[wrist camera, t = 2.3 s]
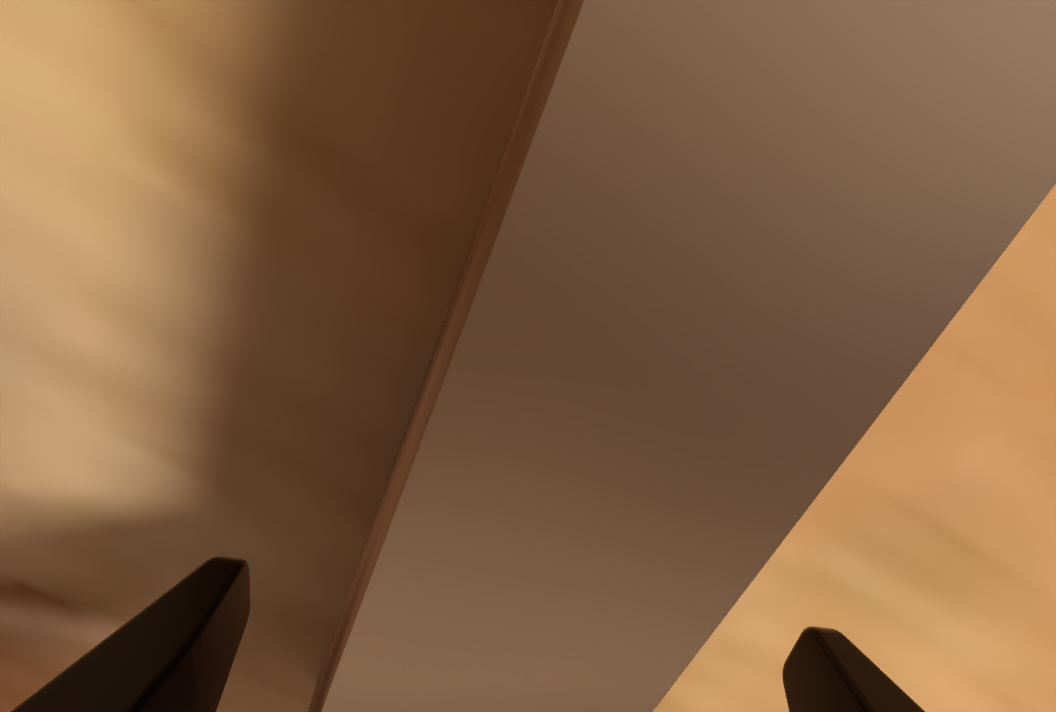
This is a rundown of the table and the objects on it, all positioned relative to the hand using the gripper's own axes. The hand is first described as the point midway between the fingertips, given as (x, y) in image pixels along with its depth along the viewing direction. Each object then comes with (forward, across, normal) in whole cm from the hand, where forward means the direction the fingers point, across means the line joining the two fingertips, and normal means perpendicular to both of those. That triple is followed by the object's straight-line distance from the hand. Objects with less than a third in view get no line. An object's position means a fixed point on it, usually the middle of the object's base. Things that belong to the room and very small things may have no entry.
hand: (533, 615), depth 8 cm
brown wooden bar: (+1, 0, -5) cm, 5 cm away
